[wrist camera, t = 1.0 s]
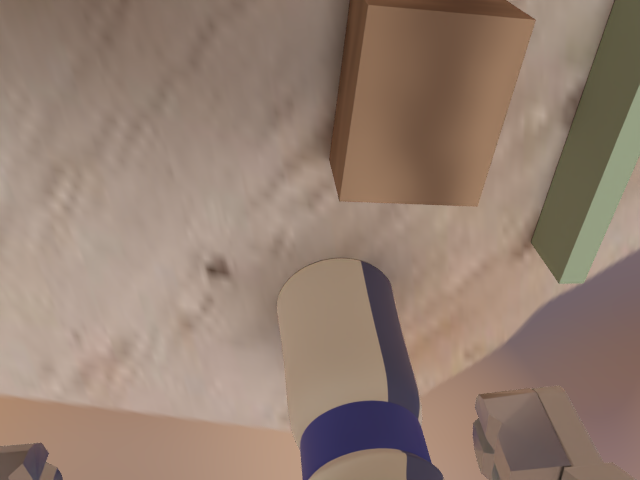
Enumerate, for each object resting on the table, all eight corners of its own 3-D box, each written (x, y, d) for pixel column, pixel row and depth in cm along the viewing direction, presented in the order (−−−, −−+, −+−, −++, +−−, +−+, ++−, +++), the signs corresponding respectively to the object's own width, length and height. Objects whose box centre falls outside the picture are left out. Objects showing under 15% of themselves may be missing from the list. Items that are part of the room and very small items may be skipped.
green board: (530, 242, 36) (559, 283, 32) (663, -141, 24) (728, -136, 21) (553, 242, 36) (583, 283, 32) (696, -138, 24) (765, -133, 21)
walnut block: (328, 157, 31) (339, 201, 27) (351, -20, 26) (368, 4, 22) (451, 163, 32) (477, 206, 28) (496, -6, 27) (535, 19, 23)
